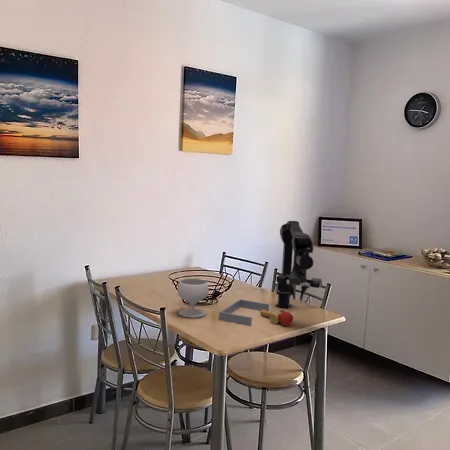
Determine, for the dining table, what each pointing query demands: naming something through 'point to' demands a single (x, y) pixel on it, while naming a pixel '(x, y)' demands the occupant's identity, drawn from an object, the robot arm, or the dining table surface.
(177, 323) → the dining table surface
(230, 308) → the box
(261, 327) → the dining table surface
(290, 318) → the kendama
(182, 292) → the chalice
